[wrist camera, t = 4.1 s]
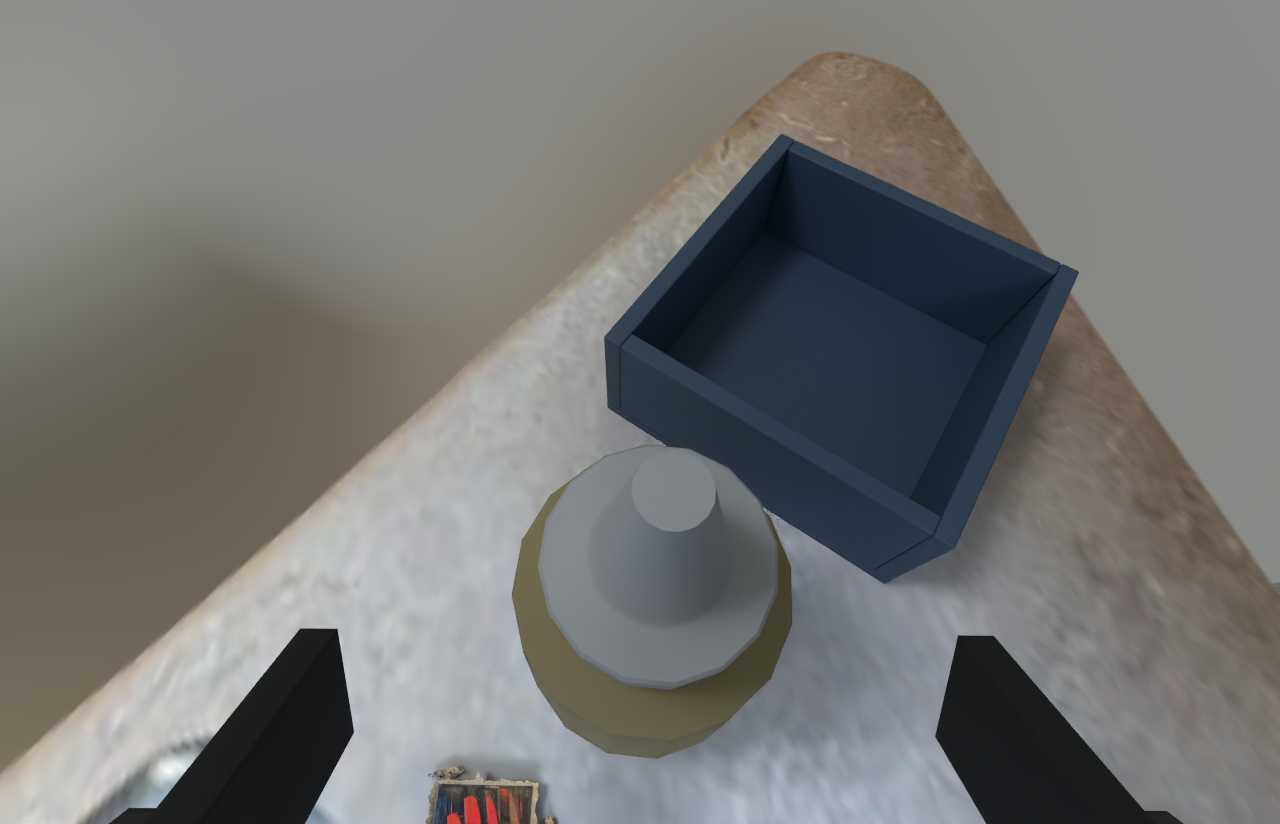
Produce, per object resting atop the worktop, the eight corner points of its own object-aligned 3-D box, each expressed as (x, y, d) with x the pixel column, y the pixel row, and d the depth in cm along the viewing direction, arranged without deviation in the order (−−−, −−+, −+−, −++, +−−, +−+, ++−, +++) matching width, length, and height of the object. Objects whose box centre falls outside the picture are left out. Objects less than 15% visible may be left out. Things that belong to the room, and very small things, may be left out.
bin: (1000, 348, 31) (1080, 271, 26) (884, 584, 25) (955, 549, 20) (756, 224, 35) (781, 132, 29) (607, 407, 29) (603, 336, 23)
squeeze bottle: (596, 798, 22) (515, 1037, 6) (509, 595, 25) (299, 380, 9) (779, 682, 24) (1110, 617, 8) (677, 507, 27) (758, 198, 11)
